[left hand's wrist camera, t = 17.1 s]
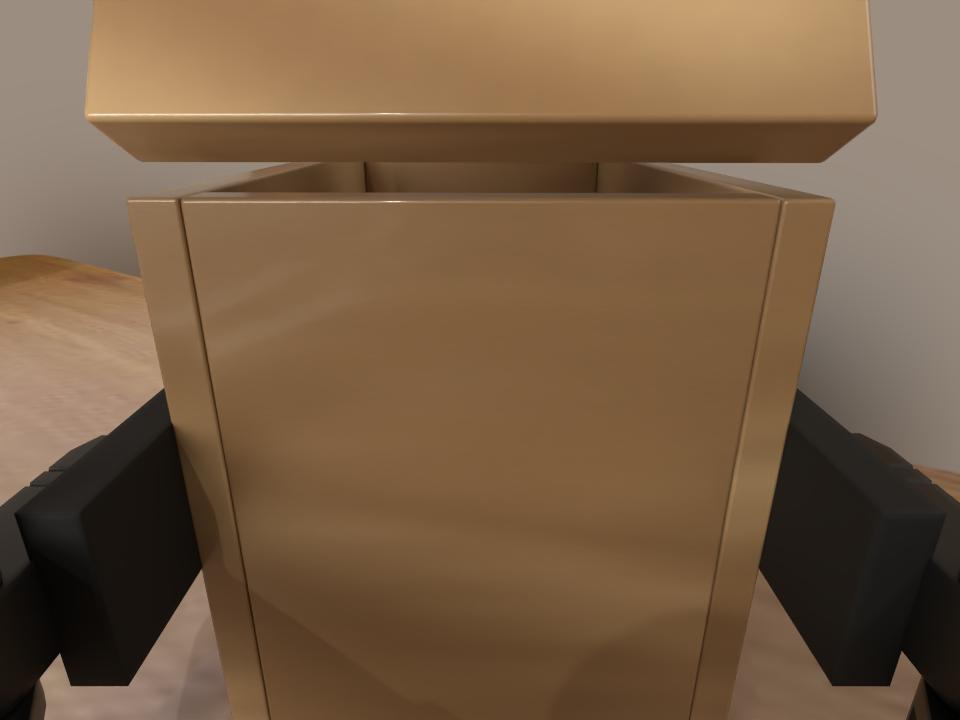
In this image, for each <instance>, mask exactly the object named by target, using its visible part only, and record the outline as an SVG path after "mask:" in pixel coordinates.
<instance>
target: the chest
mask: <svg viewBox="0 0 960 720" xmlns="http://www.w3.org/2000/svg"><path fill="white" fill-rule="evenodd" d="M126 205H127V209H128V214H129V219H130V224H131V229H132V234H133V238H134V243H135V248H136V253H137V258H138V263H139V267H140V272H141V277H142V282H143V287H144V292H145V297H146V301H147V306H148V311H149V316H150V321H151V326H152V330H153V335H154V340H155V345H156V350H157V355H158V359H159V364H160V369H161V374H162V379H163V384H164V388H165V393H166V398H167V403H168V408H169V413H170V417H171V422H172V424H173V429H174V434H175V439H176V443H177V448H178V453H179V458H180V463H181V468H182V472H183V477H184V482H185V487H186V492H187V496H188V501H189V506H190V511H191V516H192V521H193V525H194V530H195V535H196V540H197V545H198V549H199V554H200V559H201V564H202V572H203V577H204V582H205V587H206V592H207V596H208V601H209V606H210V611H211V616H212V621H213V626H214V630H215V635H216V640H217V645H218V650H219V655H220V659H221V664H222V669H223V674H224V679H225V684H226V688H227V693H228V698H229V703H230V708H231V713H232V717H233V720H727V716H728V712H729V707H730V702H731V698H732V693H733V688H734V683H735V679H736V674H737V669H738V664H739V660H740V655H741V650H742V645H743V641H744V636H745V631H746V626H747V622H748V617H749V612H750V607H751V603H752V598H753V593H754V588H755V584H756V579H757V574H758V569H759V565H760V560H761V555H762V550H763V546H764V541H765V536H766V531H767V527H768V522H769V517H770V512H771V507H772V503H773V498H774V493H775V488H776V484H777V479H778V474H779V469H780V464H781V460H782V455H783V450H784V445H785V440H786V436H787V431H788V426H789V422H790V417H791V413H792V408H793V403H794V398H795V394H796V389H797V384H798V379H799V375H800V370H801V365H802V360H803V355H804V351H805V346H806V341H807V337H808V332H809V327H810V322H811V318H812V313H813V308H814V303H815V298H816V294H817V289H818V284H819V279H820V275H821V270H822V265H823V261H824V256H825V251H826V246H827V242H828V237H829V232H830V227H831V223H832V218H833V213H834V208H835V200H834V199H832V198H828V197H823V196H819V195H814V194H809V193H805V192H800V191H796V190H791V189H786V188H782V187H777V186H773V185H768V184H764V183H759V182H754V181H750V180H745V179H740V178H736V177H731V176H727V175H722V174H717V173H713V172H708V171H704V170H699V169H695V168H690V167H685V166H681V165H676V164H672V163H527V162H292V163H287V164H283V165H278V166H273V167H269V168H264V169H259V170H255V171H250V172H245V173H240V174H236V175H231V176H226V177H222V178H217V179H212V180H207V181H203V182H198V183H193V184H189V185H184V186H179V187H175V188H170V189H165V190H160V191H156V192H151V193H146V194H142V195H137V196H133V197H129V198H127V199H126Z"/></svg>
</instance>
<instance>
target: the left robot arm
mask: <svg viewBox="0 0 960 720" xmlns="http://www.w3.org/2000/svg"><path fill="white" fill-rule="evenodd" d="M201 569H202V564H201V559H200V554H199V549H198V545H197V540H196V535H195V530H194V525H193V521H192V516H191V511H190V506H189V501H188V496H187V492H186V487H185V482H184V477H183V472H182V468H181V463H180V458H179V453H178V448H177V443H176V439H175V434H174V429H173V424H172V422H171V417H170V413H169V408H168V403H167V398H166V393H165V388H164V389H162V390H161V391H160V392H159V393H158V394H156V395H155V396H154V397H153V398H152V399H150V400H149V401H148V402H147V403H146V404H144V405H143V406H142V407H141V408H140V409H138V410H137V411H136V412H135V413H134V414H132V415H131V416H130V417H129V418H128V419H126V420H125V421H124V422H123V423H122V424H120V425H119V426H118V427H117V428H116V429H114V430H113V431H112V432H111V433H110V434H108V435H102V436H100V437H97V438H95V439H93V440H91V441H89V442H87V443H85V444H83V445H81V446H79V447H77V448H75V449H73V450H71V451H70V452H68V453H67V454H66V455H65V456H63V457H62V458H61V459H60V460H58V461H57V462H56V463H55V464H53V465H52V466H51V467H49V471H48V472H43V473H42V474H41V475H39V476H38V477H37V478H36V479H34V480H33V481H32V482H31V483H30V487H24V488H23V489H22V490H21V491H19V492H18V493H17V494H16V495H14V496H13V497H12V498H11V499H9V500H8V501H7V502H6V503H4V504H3V505H2V506H1V507H0V720H44V716H45V709H46V701H45V695H44V690H43V688H42V685H41V682H40V679H39V678H40V677H41V676H42V675H43V673H44V672H45V671H46V670H47V668H48V667H49V666H50V665H51V663H52V662H53V661H54V660H55V658H56V657H57V656H58V655H59V653H60V654H61V657H62V660H63V663H64V666H65V669H66V672H67V675H68V678H69V681H70V684H71V686H128V685H129V684H130V682H131V681H132V679H133V677H134V676H135V674H136V673H137V671H138V669H139V668H140V666H141V665H142V663H143V661H144V660H145V658H146V657H147V655H148V653H149V652H150V650H151V649H152V647H153V646H154V644H155V642H156V641H157V639H158V638H159V636H160V634H161V633H162V631H163V630H164V628H165V626H166V625H167V623H168V622H169V620H170V618H171V617H172V615H173V614H174V612H175V610H176V609H177V607H178V606H179V604H180V602H181V601H182V599H183V598H184V596H185V594H186V593H187V591H188V590H189V588H190V586H191V585H192V583H193V582H194V580H195V578H196V577H197V575H198V574H199V572H200V570H201ZM759 569H760V571H761V572H762V574H763V576H764V577H765V579H766V580H767V582H768V584H769V585H770V587H771V588H772V590H773V592H774V593H775V595H776V596H777V598H778V600H779V601H780V603H781V604H782V606H783V608H784V609H785V611H786V612H787V614H788V616H789V617H790V619H791V620H792V622H793V624H794V625H795V627H796V628H797V630H798V632H799V633H800V635H801V636H802V638H803V639H804V641H805V643H806V644H807V646H808V647H809V649H810V651H811V652H812V654H813V655H814V657H815V659H816V660H817V662H818V663H819V665H820V667H821V668H822V670H823V671H824V673H825V675H826V676H827V678H828V679H829V681H830V683H831V684H832V686H890V684H891V681H892V678H893V675H894V672H895V669H896V666H897V663H898V660H899V657H900V654H901V651H903V653H904V654H905V655H906V656H907V658H908V659H909V660H910V661H911V663H912V664H913V665H914V666H915V668H916V669H917V670H918V671H919V673H920V674H921V675H922V676H921V679H920V682H919V685H918V688H917V690H916V693H915V696H914V699H913V702H912V705H911V707H910V710H909V713H908V716H907V719H906V720H960V503H959V502H958V501H957V500H955V499H954V498H953V497H952V496H950V495H949V494H948V493H947V492H945V491H944V490H943V489H942V488H940V487H939V486H938V485H936V484H932V483H931V480H930V479H929V478H928V477H926V476H925V475H924V474H923V473H921V472H920V471H919V470H917V469H913V466H912V465H911V464H910V463H909V462H907V461H906V460H905V459H904V458H902V457H901V456H900V455H898V454H897V453H896V452H895V451H893V450H892V449H891V448H889V447H887V446H885V445H883V444H881V443H879V442H877V441H874V440H872V439H870V438H868V437H866V436H864V435H862V434H860V433H850V432H849V431H847V430H846V429H845V428H844V427H843V426H842V425H840V424H839V423H838V422H837V421H836V420H834V419H833V418H832V417H831V416H830V415H828V414H827V413H826V412H825V411H824V410H822V409H821V408H820V407H819V406H818V405H816V404H815V403H814V402H813V401H812V400H810V399H809V398H808V397H807V396H806V395H804V394H803V393H802V392H801V391H800V390H798V389H796V394H795V398H794V403H793V408H792V413H791V417H790V422H789V426H788V431H787V436H786V440H785V445H784V450H783V455H782V460H781V464H780V469H779V474H778V479H777V484H776V488H775V493H774V498H773V503H772V507H771V512H770V517H769V522H768V527H767V531H766V536H765V541H764V546H763V550H762V555H761V560H760V565H759Z"/></svg>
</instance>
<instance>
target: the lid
mask: <svg viewBox="0 0 960 720" xmlns="http://www.w3.org/2000/svg"><path fill="white" fill-rule="evenodd" d="M877 115H878V111H877V98H876V85H875V71H874V58H873V44H872V31H871V18H870V4H869V0H93V13H92V26H91V38H90V51H89V63H88V76H87V89H86V101H85V116H86V119H87V121H88V122H90V123H91V124H92V125H93V126H95V127H96V128H97V129H99V130H100V131H101V132H102V133H104V134H105V135H106V136H108V137H109V138H110V139H111V140H113V141H114V142H115V143H116V144H118V145H119V146H120V147H122V148H123V149H124V150H125V151H127V152H128V153H129V154H131V155H132V156H133V157H134V158H136V159H137V160H139V161H142V162H527V163H821V162H823V161H825V160H827V159H828V158H829V157H830V156H832V155H833V154H834V153H836V152H837V151H838V150H840V149H841V148H842V147H843V146H845V145H846V144H847V143H848V142H850V141H851V140H852V139H854V138H855V137H856V136H857V135H859V134H860V133H861V132H863V131H864V130H865V129H867V128H868V127H869V126H870V125H872V124H873V123H874V122H875V121H876V118H877Z"/></svg>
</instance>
